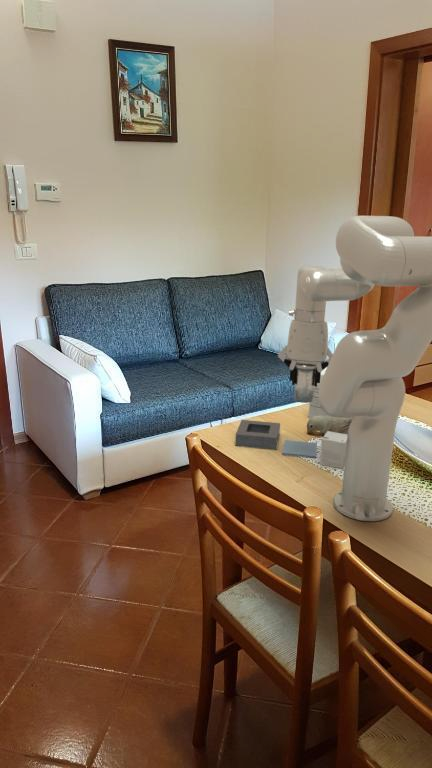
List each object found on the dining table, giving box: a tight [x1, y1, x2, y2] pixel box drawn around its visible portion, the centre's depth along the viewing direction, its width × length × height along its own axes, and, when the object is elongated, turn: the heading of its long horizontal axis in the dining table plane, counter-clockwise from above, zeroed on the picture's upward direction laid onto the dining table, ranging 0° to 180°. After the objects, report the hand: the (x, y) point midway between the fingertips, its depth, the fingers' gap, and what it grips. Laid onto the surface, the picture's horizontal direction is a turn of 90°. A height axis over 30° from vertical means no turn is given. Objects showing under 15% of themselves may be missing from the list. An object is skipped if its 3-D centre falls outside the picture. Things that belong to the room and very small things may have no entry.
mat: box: [281, 439, 318, 459], centre depth 152 cm, size 9×9×1 cm
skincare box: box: [319, 431, 347, 470], centre depth 144 cm, size 6×6×7 cm
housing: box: [234, 419, 281, 451], centre depth 158 cm, size 11×11×4 cm
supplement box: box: [308, 366, 329, 419], centre depth 175 cm, size 9×9×15 cm
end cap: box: [293, 361, 317, 404], centre depth 147 cm, size 6×6×10 cm
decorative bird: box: [306, 415, 354, 435], centre depth 161 cm, size 5×16×8 cm, turn 74°
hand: (304, 383), depth 147 cm, fingers closed on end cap, 5 cm apart
